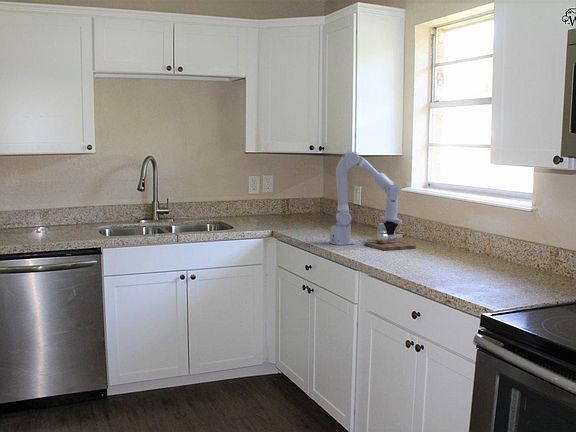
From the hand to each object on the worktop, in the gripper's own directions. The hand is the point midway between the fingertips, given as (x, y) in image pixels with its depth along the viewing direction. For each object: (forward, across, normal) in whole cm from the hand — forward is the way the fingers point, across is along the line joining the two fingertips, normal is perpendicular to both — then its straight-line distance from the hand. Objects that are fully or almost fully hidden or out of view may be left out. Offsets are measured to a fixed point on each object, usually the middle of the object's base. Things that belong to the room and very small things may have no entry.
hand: (390, 237), depth 319 cm
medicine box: (+4, +10, -5) cm, 12 cm away
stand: (+3, -6, +5) cm, 9 cm away
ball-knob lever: (+2, -4, +3) cm, 5 cm away
